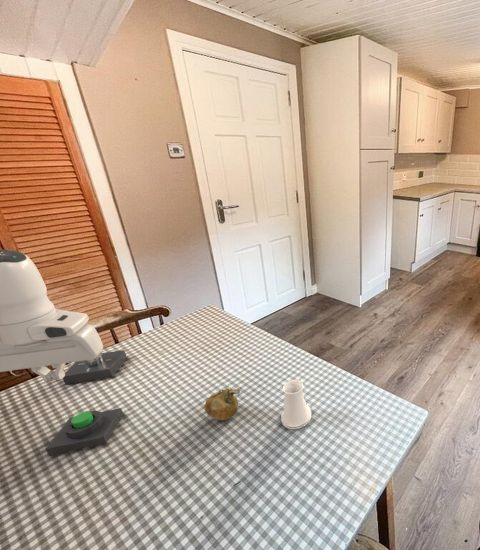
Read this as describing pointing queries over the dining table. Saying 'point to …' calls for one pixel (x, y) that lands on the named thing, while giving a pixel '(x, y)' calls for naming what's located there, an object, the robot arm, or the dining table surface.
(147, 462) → the dining table surface
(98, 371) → the dial panel
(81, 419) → the button
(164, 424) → the dining table surface
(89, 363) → the program dial
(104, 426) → the block
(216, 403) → the onion
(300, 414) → the vase
